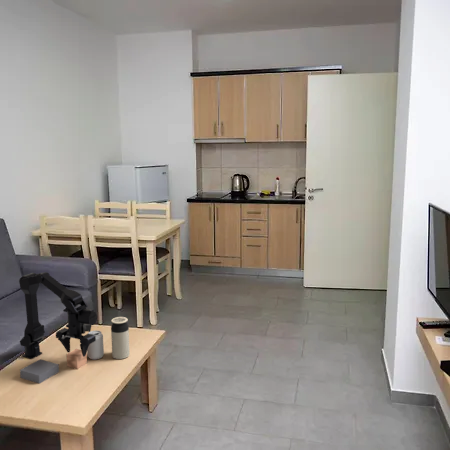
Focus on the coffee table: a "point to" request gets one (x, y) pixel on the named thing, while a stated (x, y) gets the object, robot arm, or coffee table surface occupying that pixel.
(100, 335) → the can
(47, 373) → the charcoal box
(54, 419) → the coffee table surface
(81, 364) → the terracotta cube
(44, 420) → the coffee table surface
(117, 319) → the travel mug
